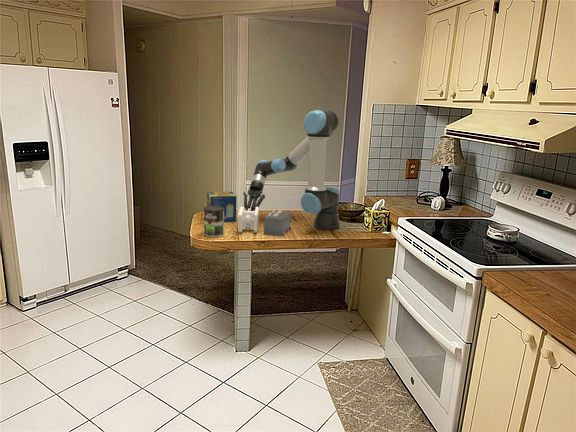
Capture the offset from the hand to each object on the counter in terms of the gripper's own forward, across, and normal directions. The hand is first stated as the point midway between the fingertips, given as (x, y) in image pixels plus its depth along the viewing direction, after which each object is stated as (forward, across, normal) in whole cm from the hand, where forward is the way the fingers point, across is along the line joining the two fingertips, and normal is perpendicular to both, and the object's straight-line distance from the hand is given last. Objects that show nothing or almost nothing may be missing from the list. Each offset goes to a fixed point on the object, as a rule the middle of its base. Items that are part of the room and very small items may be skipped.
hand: (247, 219), depth 241 cm
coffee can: (+15, +12, +8) cm, 21 cm away
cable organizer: (+6, -2, -1) cm, 6 cm away
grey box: (+2, -17, -5) cm, 18 cm away
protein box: (-3, +19, -11) cm, 22 cm away
